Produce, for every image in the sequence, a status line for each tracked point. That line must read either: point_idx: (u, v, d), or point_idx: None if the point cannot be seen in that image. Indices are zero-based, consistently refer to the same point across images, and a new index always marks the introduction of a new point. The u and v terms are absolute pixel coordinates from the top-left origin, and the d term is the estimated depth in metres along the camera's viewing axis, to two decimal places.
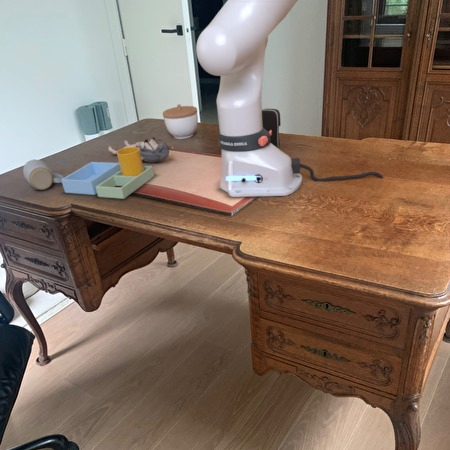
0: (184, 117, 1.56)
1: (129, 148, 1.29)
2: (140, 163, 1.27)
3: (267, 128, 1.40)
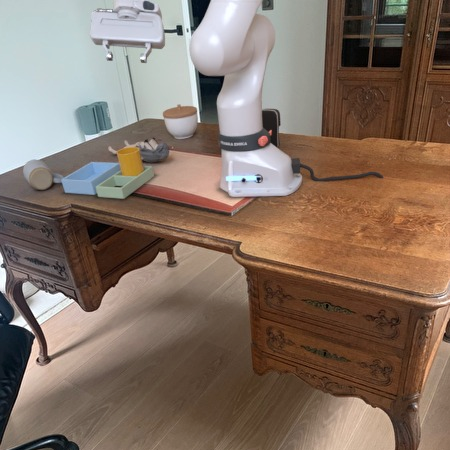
0: (184, 117, 1.56)
1: (129, 148, 1.29)
2: (140, 163, 1.27)
3: (267, 128, 1.40)
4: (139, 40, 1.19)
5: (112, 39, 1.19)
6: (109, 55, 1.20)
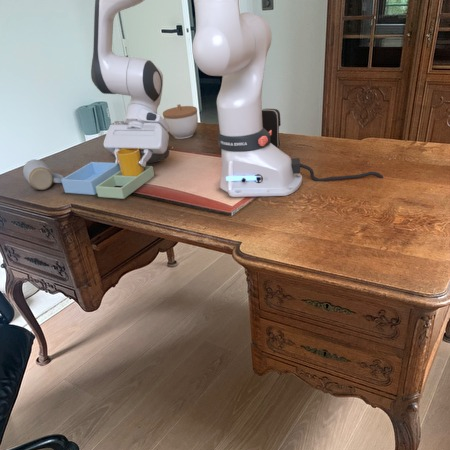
0: (184, 117, 1.56)
1: None
2: None
3: (267, 128, 1.40)
4: (141, 147, 1.26)
5: (120, 147, 1.29)
6: None
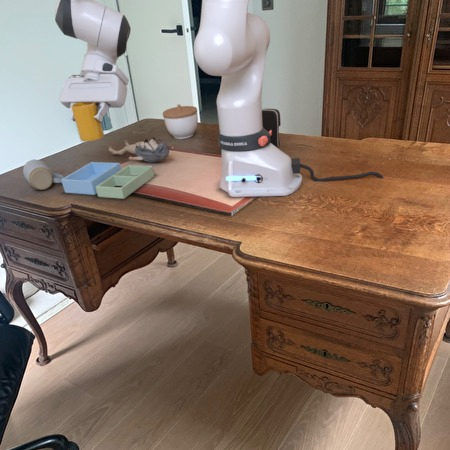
0: (184, 117, 1.56)
1: (85, 102, 1.22)
2: None
3: (267, 128, 1.40)
4: (97, 100, 1.19)
5: (75, 101, 1.22)
6: (73, 116, 1.22)
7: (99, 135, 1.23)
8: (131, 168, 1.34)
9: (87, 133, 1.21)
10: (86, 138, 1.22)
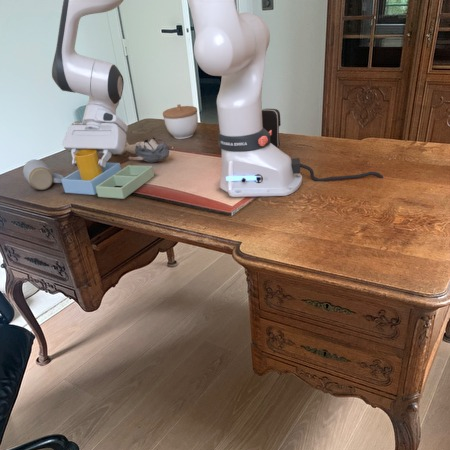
0: (184, 117, 1.56)
1: (87, 150, 1.30)
2: None
3: (267, 128, 1.40)
4: (98, 147, 1.27)
5: (78, 147, 1.30)
6: (74, 161, 1.30)
7: None
8: (131, 168, 1.34)
9: (89, 179, 1.29)
10: None
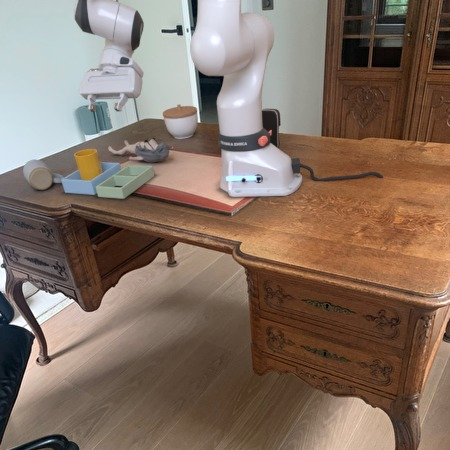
0: (184, 117, 1.56)
1: (87, 150, 1.30)
2: (98, 165, 1.29)
3: (267, 128, 1.40)
4: (114, 91, 1.28)
5: (94, 93, 1.31)
6: (91, 107, 1.31)
7: None
8: (131, 168, 1.34)
9: (89, 179, 1.29)
10: None
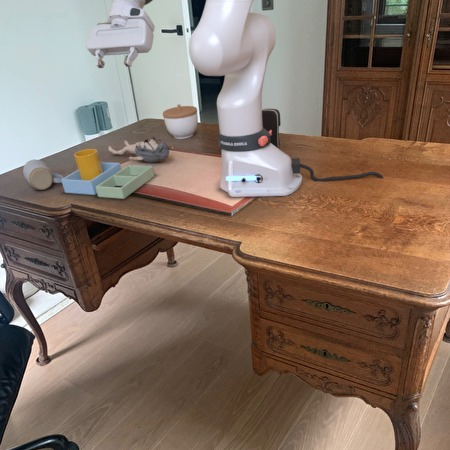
0: (184, 117, 1.56)
1: (87, 150, 1.30)
2: (98, 165, 1.29)
3: (267, 128, 1.40)
4: (124, 45, 1.21)
5: (103, 47, 1.24)
6: (99, 62, 1.24)
7: None
8: (131, 168, 1.34)
9: (89, 179, 1.29)
10: None
